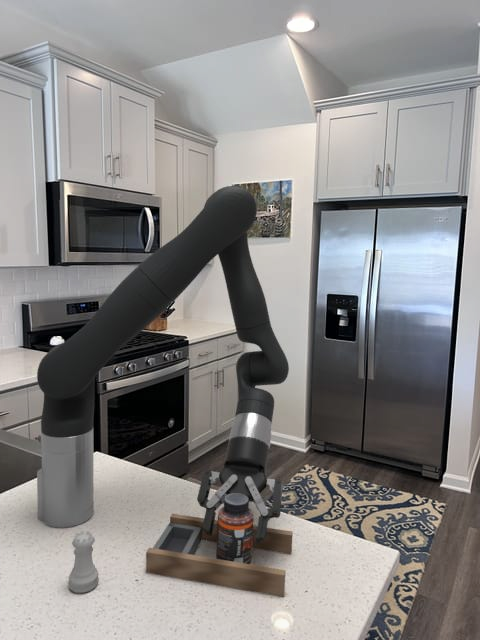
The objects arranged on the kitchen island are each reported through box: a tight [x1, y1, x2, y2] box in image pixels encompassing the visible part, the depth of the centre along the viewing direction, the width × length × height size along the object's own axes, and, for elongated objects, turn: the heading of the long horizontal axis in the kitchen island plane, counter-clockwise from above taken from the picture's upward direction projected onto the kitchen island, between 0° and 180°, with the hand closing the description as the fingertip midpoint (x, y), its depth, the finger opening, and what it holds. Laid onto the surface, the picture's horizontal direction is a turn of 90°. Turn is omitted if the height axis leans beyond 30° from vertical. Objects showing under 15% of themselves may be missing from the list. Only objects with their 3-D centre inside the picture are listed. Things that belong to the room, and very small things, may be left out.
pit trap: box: [152, 522, 202, 555], centre depth 81 cm, size 6×9×2 cm, turn 168°
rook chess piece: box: [67, 530, 100, 594], centre depth 72 cm, size 4×4×8 cm
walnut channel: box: [145, 513, 294, 598], centre depth 79 cm, size 22×12×4 cm, turn 78°
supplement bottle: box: [215, 493, 255, 565], centre depth 78 cm, size 6×6×11 cm
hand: (233, 538), depth 77 cm, fingers open, 8 cm apart
